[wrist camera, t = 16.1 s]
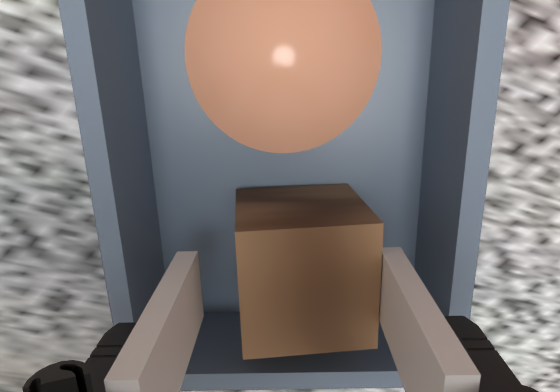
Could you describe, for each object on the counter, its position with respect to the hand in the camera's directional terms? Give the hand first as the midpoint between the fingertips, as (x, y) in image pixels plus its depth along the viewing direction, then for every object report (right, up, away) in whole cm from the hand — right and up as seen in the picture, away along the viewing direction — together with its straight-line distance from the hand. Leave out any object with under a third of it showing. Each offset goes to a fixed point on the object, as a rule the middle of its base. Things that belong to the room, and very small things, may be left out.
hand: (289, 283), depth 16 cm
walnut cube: (0, +1, +4) cm, 4 cm away
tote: (0, +5, +4) cm, 6 cm away
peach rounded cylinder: (0, +9, +2) cm, 9 cm away
